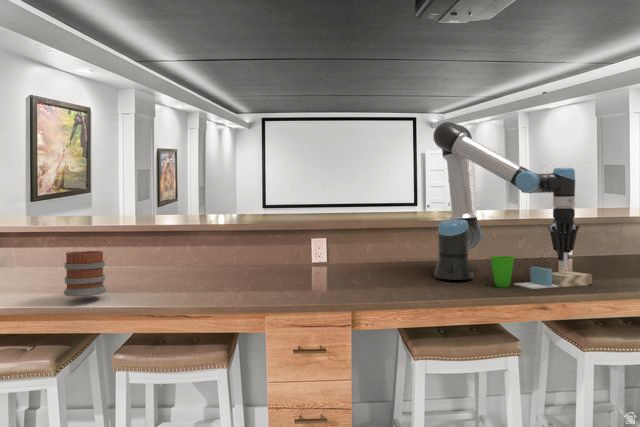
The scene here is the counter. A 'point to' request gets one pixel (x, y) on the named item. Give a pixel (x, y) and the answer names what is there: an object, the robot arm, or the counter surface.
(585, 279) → the light wood flat block
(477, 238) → the robot arm
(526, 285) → the mat
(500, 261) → the cup
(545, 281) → the card
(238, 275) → the counter surface
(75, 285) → the mug
